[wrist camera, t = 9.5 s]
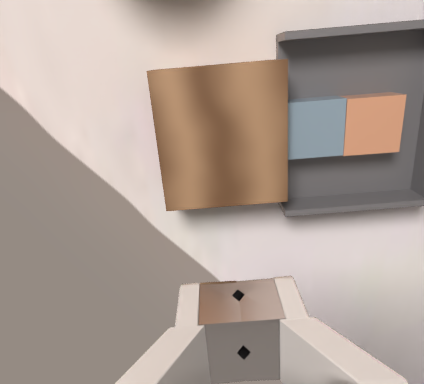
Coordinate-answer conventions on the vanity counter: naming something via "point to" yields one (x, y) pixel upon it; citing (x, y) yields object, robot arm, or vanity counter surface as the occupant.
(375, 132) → the tile
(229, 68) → the cardboard box
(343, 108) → the tile
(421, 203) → the tray
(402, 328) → the vanity counter surface
